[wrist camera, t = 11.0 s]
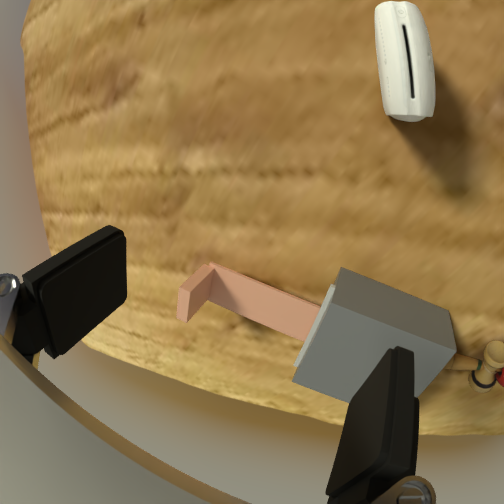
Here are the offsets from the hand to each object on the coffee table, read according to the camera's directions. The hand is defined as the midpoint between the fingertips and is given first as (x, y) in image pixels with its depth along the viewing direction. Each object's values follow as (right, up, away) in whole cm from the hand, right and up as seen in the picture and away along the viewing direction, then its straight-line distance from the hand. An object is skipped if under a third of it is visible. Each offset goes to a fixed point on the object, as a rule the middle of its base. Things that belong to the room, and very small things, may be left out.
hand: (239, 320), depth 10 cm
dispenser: (+17, -8, +31) cm, 36 cm away
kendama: (+33, -13, +26) cm, 44 cm away
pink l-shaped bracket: (+2, -4, +31) cm, 31 cm away
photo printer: (+16, +21, +17) cm, 31 cm away
